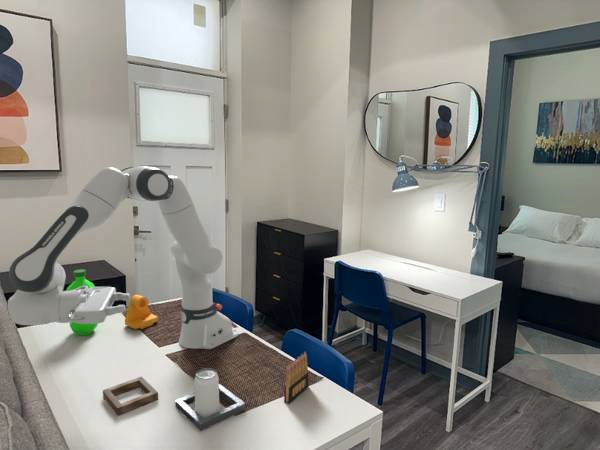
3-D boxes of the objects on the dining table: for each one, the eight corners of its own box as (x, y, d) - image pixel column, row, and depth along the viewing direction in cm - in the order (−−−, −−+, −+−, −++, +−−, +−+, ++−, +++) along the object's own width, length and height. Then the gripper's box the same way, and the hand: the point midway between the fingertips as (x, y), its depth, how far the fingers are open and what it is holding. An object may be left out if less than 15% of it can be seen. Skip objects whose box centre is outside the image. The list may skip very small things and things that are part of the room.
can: (201, 404, 122) (200, 366, 120) (222, 407, 121) (222, 368, 119) (191, 418, 116) (190, 378, 114) (213, 422, 115) (212, 381, 113)
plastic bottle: (103, 326, 173) (99, 267, 168) (91, 338, 162) (86, 275, 158) (78, 326, 172) (73, 267, 168) (64, 338, 162) (59, 275, 157)
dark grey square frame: (218, 388, 130) (218, 382, 130) (245, 409, 120) (245, 403, 120) (175, 406, 121) (175, 400, 121) (200, 431, 111) (200, 424, 111)
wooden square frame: (141, 383, 132) (141, 376, 132) (158, 400, 124) (157, 392, 124) (103, 398, 125) (102, 390, 124) (117, 416, 116) (117, 408, 116)
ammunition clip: (289, 404, 123) (289, 365, 121) (283, 402, 124) (284, 364, 122) (308, 387, 132) (309, 351, 130) (303, 385, 133) (304, 349, 131)
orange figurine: (135, 331, 169) (133, 302, 167) (125, 326, 174) (123, 298, 172) (158, 322, 178) (157, 295, 176) (148, 318, 182) (147, 291, 180)
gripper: (63, 309, 110) (121, 304, 113) (83, 284, 129) (131, 281, 133) (65, 332, 111) (122, 327, 114) (84, 303, 131) (133, 300, 134)
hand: (127, 302), depth 124 cm, fingers open, 8 cm apart
